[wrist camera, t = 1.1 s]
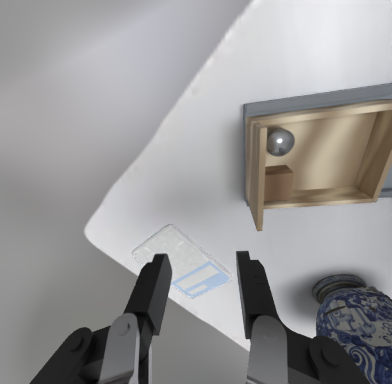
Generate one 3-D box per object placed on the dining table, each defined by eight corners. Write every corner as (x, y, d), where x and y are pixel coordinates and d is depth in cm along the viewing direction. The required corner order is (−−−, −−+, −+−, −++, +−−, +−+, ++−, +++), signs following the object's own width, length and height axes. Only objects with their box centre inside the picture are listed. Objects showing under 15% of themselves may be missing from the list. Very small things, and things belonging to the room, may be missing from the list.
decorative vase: (417, 273, 36) (841, 659, 12) (357, 318, 45) (522, 584, 21) (313, 251, 35) (522, 598, 11) (275, 301, 45) (344, 550, 21)
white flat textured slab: (171, 220, 36) (169, 226, 34) (233, 273, 42) (234, 281, 40) (131, 250, 41) (128, 257, 39) (192, 293, 47) (191, 301, 45)
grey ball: (287, 123, 23) (296, 127, 20) (284, 148, 25) (293, 155, 22) (261, 127, 24) (267, 131, 21) (260, 151, 25) (265, 158, 22)
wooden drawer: (383, 98, 21) (474, 102, 14) (354, 187, 27) (408, 224, 20) (245, 117, 24) (260, 128, 16) (245, 195, 29) (257, 231, 22)
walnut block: (285, 164, 26) (294, 172, 23) (283, 189, 28) (290, 199, 25) (257, 167, 26) (261, 175, 24) (256, 191, 28) (260, 201, 25)
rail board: (477, 70, 20) (505, 68, 19) (418, 187, 28) (434, 194, 26) (244, 104, 24) (246, 105, 22) (244, 199, 31) (246, 206, 29)
